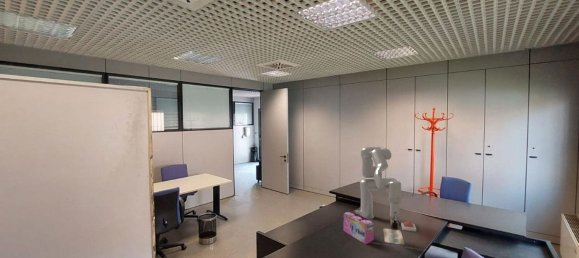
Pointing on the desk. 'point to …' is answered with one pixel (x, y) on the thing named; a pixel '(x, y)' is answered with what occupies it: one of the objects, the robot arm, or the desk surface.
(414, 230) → the popper base
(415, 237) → the desk surface
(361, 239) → the pink printed package
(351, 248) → the desk surface
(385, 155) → the robot arm
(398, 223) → the pawn
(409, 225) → the red dome
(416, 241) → the desk surface
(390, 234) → the track board
